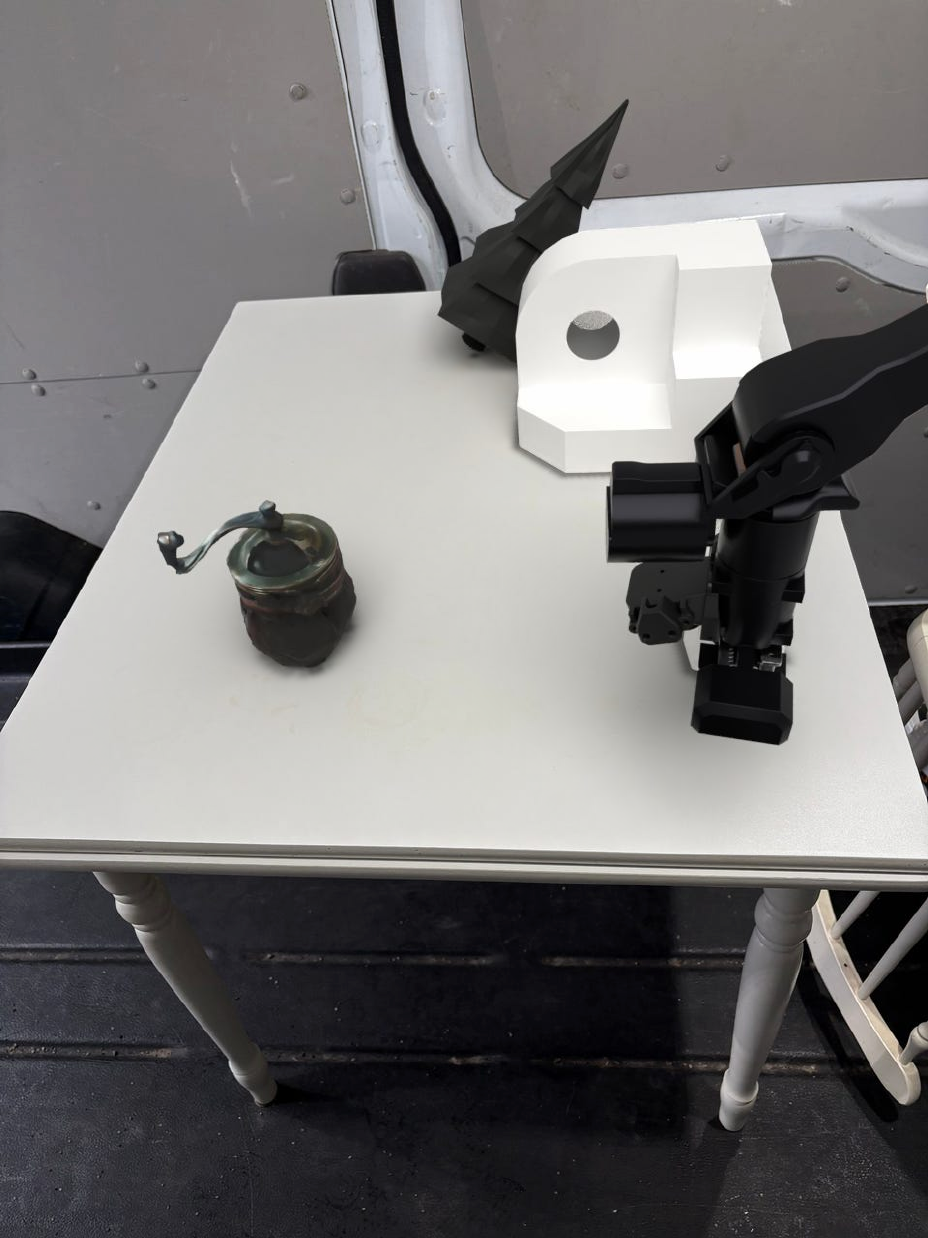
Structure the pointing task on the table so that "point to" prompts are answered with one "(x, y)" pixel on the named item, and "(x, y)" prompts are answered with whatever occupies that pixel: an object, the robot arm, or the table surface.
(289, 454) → the table surface
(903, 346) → the robot arm
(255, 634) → the coffee grinder
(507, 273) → the decorative tree
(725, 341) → the stepped bracket block
